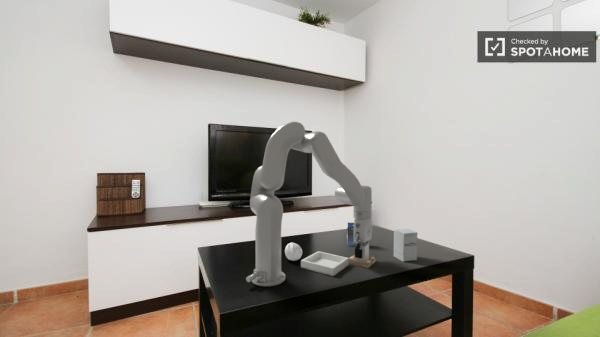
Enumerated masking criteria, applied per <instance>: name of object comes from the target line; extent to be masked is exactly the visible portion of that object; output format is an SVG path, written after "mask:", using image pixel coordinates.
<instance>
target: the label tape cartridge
mask: <svg viewBox="0 0 600 337" xmlns="http://www.w3.org/2000/svg"><path fill="white" fill-rule="evenodd" d="M353 241H354V222H347V228H346V244H347V247H354V243H353Z"/></svg>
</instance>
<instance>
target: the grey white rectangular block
mask: <svg viewBox="0 0 600 337" xmlns="http://www.w3.org/2000/svg"><path fill="white" fill-rule="evenodd" d="M358 241H361V240H358ZM369 242H370V240H369V241H367V242H366V243H362V248H361V249H362V259H361V258H356V257H355V259H356V260H361V261H365V262H367V261H368V260H369V256H370V243H369ZM358 244H359V245H360V243H358Z"/></svg>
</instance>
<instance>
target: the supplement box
mask: <svg viewBox="0 0 600 337" xmlns="http://www.w3.org/2000/svg"><path fill="white" fill-rule="evenodd" d="M393 257H394V258H396V259H398V261H399V260H400V261H401V262H408V261H417V260H418V231H415V230H412V229H409V228H401V229H393Z"/></svg>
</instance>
